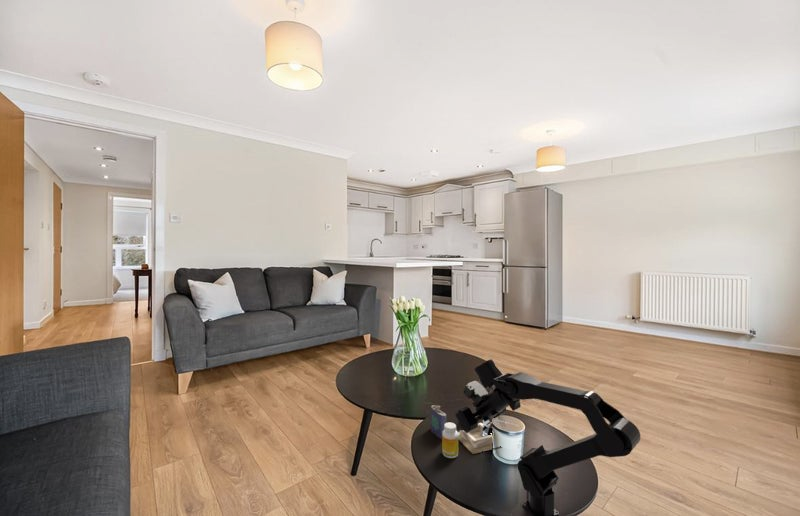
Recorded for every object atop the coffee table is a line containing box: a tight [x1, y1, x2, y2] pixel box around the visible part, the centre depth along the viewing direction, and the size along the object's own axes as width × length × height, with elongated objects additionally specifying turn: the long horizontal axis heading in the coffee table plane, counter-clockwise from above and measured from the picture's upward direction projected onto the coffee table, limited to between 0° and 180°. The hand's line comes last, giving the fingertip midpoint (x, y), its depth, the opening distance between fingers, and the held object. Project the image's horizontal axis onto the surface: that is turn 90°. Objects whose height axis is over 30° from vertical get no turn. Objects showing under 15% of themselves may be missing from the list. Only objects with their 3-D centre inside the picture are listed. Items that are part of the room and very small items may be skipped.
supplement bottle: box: [441, 422, 459, 459], centre depth 111 cm, size 5×5×10 cm
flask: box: [430, 404, 447, 440], centre depth 123 cm, size 9×3×11 cm, turn 25°
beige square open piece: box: [457, 422, 493, 455], centre depth 119 cm, size 12×12×4 cm
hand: (466, 423), depth 106 cm, fingers open, 9 cm apart
